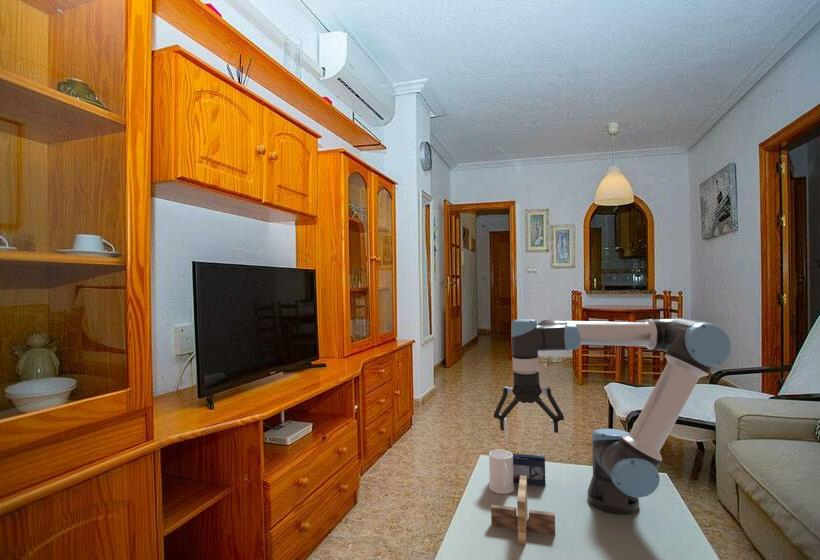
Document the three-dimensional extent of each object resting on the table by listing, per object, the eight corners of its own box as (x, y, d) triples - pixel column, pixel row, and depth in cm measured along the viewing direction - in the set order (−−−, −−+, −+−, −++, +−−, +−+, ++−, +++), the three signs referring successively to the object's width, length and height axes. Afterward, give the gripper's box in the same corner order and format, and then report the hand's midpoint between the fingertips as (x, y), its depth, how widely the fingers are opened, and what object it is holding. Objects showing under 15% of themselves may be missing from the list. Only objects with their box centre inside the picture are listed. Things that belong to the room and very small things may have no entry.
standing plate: (555, 531, 127) (554, 512, 127) (555, 535, 126) (554, 515, 125) (492, 522, 132) (491, 504, 132) (491, 525, 131) (491, 507, 131)
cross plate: (525, 545, 121) (524, 501, 121) (518, 544, 122) (517, 500, 122) (527, 514, 136) (526, 476, 136) (520, 513, 137) (520, 475, 137)
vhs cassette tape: (492, 481, 159) (491, 453, 159) (493, 477, 162) (492, 450, 162) (545, 487, 154) (545, 459, 154) (545, 483, 156) (545, 455, 156)
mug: (518, 498, 146) (518, 462, 146) (493, 499, 146) (492, 463, 146) (511, 482, 158) (510, 448, 158) (487, 482, 158) (486, 449, 158)
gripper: (569, 368, 132) (572, 439, 132) (485, 368, 139) (488, 435, 139) (571, 374, 125) (575, 449, 125) (482, 373, 131) (486, 444, 132)
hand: (529, 442), depth 132 cm, fingers open, 13 cm apart
